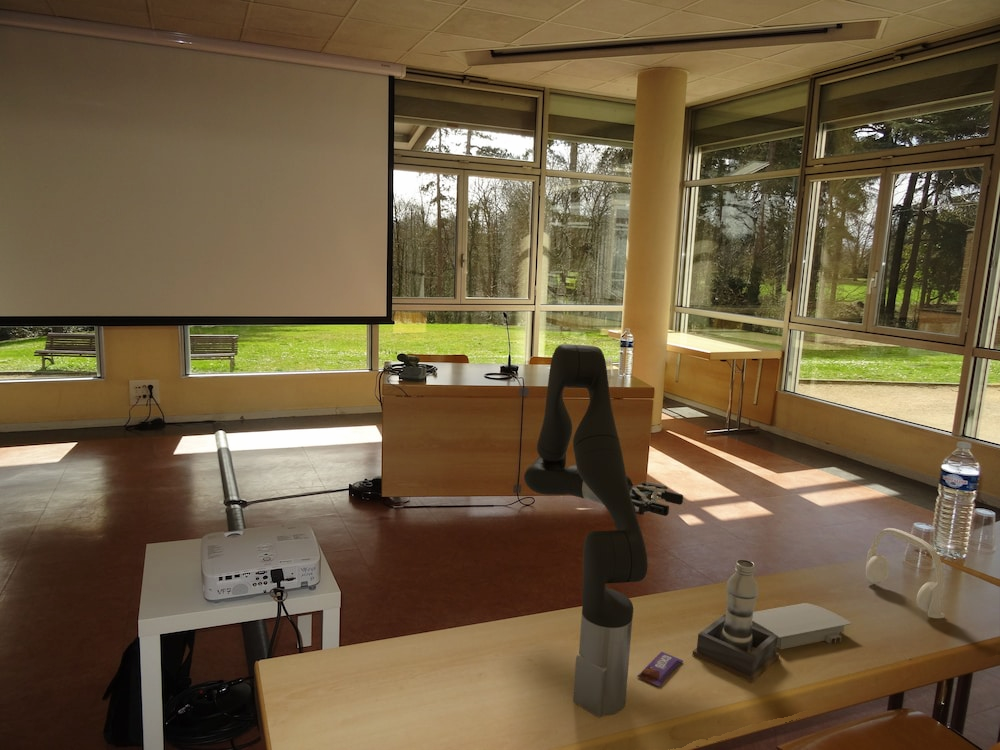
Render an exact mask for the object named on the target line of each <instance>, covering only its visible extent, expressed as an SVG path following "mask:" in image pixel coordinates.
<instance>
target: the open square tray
mask: <svg viewBox="0 0 1000 750" xmlns="http://www.w3.org/2000/svg"><path fill="white" fill-rule="evenodd" d="M725 618H726V613H725V614H723V615H721V616H720V617H719V618H718V619H716V620H714V621H713V622H712V623H711V624H709V625H708V626H707V627H705V628H704V629H703V630H701V631H699V633H698V634H697V644H696V648H694V649H693V650H692V656H694V657H695V658H698V659H699V660H702V661H704V662H706V663H708V664H710V665H713V666H715V667H716V668H717V669H718V668H719V669H720V670H723V671H724V672H727V673H729V674H731V675H732V676H733V675H734V676H735V677H738V678H740V679H742V680H744V681H746V682H748V683H750V684H753V683H754V682H755V681H756V680H757V679H758V678H759V677H760V676H761V675H762V674H764V673H765V671H767V670H768V668H770V667H771V666H772V665H773V664H774V663H775V662H776V661H777V660H778V659H779V657H780V653H779V652H777V648H778V647H777V639H778V636H776V635H774V634H772V633H769V632H767V631H764V630H762V629H760V628H757V627H755V626H752V637H753V645H752V648H751V651H750V653H748V652H746V651H744V650H742V649H739V648H737V647H735V646H733V645H730V644H728V643H726V642H724V641H721V633H722V630H723V627H724V623H725Z"/></svg>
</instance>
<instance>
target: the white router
mask: <svg viewBox="0 0 1000 750" xmlns="http://www.w3.org/2000/svg"><path fill="white" fill-rule="evenodd" d="M848 625H849V626H850V625H853V623H852V622H851V621H849V620H848V619H846V618H844V617H843V616H841V615H839V614H838V613H835V612H833V611H830V610H828V609H827V608H824V607H821V606H818V605H816V604H812V603H807V602H802V603H798V604H791V605H786V606H779V607H773V608H769V609H764V610H757V611H754V612H753V618H752V626H755V627H757V628H760V629H762V630H764V631H767V632H769V633H772V634H774V635H776V636H778V639H777V647H776V648H777V649H779V650H784V649H790V648H794V647H799V646H803V645H809V644H814V643H819V642H824V641H825V642H827V643H828V644H830V645H831V644H832V641H833V639H835V640H834V643H835V644H836V643H837V638H839V642H840V643H841V642H842V635H840V633H842V632H844V631H845V626H848Z"/></svg>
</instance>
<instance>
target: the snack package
mask: <svg viewBox="0 0 1000 750" xmlns="http://www.w3.org/2000/svg"><path fill="white" fill-rule="evenodd" d="M683 662H684V660H682V659H681V658H678V657H676V656H673V655H671V654H669V653H666V652H664V651H660V653H659V654H658V655H656V656H655V657H654V659H652V660H651V662H649V663H648V664H647V665H646V666H645V667H644V668H643V670H642V671H641V672H640V673H639V674H637V676H636V678H639V679H641V680H644V681H646V682H648V683H650V684H653V685H655V686H657V687H659V688H660V687H661V686H662V684H663V683H664V682H665V681H666V679H668V677H669V676H670V675H671V674H672V673H673V672H674V671H675V670H676V669H677V668H678V666H680V664H682V663H683Z"/></svg>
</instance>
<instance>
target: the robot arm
mask: <svg viewBox="0 0 1000 750" xmlns="http://www.w3.org/2000/svg"><path fill="white" fill-rule="evenodd" d="M606 362H607V361H606V359H605V355H604V353H603V351H602V349H601V348H600V347H598V346H594V345H585V344H571V343H569V344H567V343H565V344H564V343H563V344H559V345H558V346H557V347H555V349H554V351H553V354H552V357H551V361H550V367H549V372H548V373H549V374H548V381H547V387H546V388H547V389H546V396H545V398H546V399H545V407H544V408H545V409H544V417H543V420H542V424H541V429H540V432H539V436H538V440H537V443H536V452H537V454H538V456H539V457H538V458H537V459H536V460H535V461H533V463H532V464H531V465H530V466H528V467H527V468H526V470H525V472H524V475H523V476H524V477H523V480H524V483H525V484H526V486H527V487H528V489H529V490H531V491H533V492H535V493H537V494H541V495H547V496H548V495H549V496H551V495H552V496H553V495H554V496H565V495H566V496H568V495H569V496H574V497H577V498H581V499H583V500H584V499H585V500H588V501H590V502H593V503H596V504H600V505H602V506H603V505H604V507H605V508H606V509H607V511H608V512H609V513H608V514H609V515H610V516H611V518H612V521H613V524H614V527H615V530H592V531H590V532H588V533H587V535H586V537H585V538H584V543H583V549H582V550H583V551H582V552H583V554H582V555H583V556H582V565H583V566H582V586H581V587H582V588H581V589H582V590H581V592H582V593H581V594H582V597H581V598H582V607H581V620H580V636H579V649H578V654H577V655H576V657H575V671H574V685H573V695H572V696H573V697H572V698H573V700H572V702H573V703H574V704H577V705H578V706H580V707H581V708H583V709H584V710H587V711H588V712H590V713H592V714H593V715H595V716H596V717H599V718H601V717H602V716H604V715H605V716H606V715H613V714H616V713H619V712H620V711H621V710H623V709H624V707H625V706H626V700H627V688H628V675H629V665H630V652H631V651H630V650H631V641H632V630H633V629H632V627H633V618H634V617H633V616H634V604H633V602H632V600H631V599H630V598H629V597H628V596H627V595H625V594H623V593H622V592H620V591H617V590H615V589H611V588H608V587H606V586H607V584H623V583H625V584H626V583H636V582H641V581H643V580H644V579H645V578H646V576H647V572H648V566H649V565H648V554H647V549H646V545H645V544H646V543H645V540H644V536H643V533H642V530H641V525H640V523H639V520H638V517H637V515H641V516H643V515H645V513H646V514H650V513H653V514H656V515H660V516H664V517H667V516H668V515H669V513H670V505H668V504H663V503H660V502H667V503H672V504H676V505H679V506H682V504H683V503H684V495H683V494H681V493H677V492H674V491H669V490H668V486H666V485H662V484H656V483H652V482H648V481H642V482H641V484H637V485H635V484H633V482H632V479H631V477H630V476H628V475H627V473H626V467H625V462H624V457H623V451H622V447H621V442H620V438H619V435H618V431H617V426H616V423H615V422H616V421H615V419H614V418H615V417H614V413H613V407H612V400H611V393H610V387H609V377H608V376H609V375H608V368H607V363H606ZM565 388H577V389H586V390H588V394H589V403H588V406H587V409H586V411H585V414H584V415H583V417H582V419H581V420H580V423H578V426H577V427H576V430H575V433H574V435H573V440H572V447H573V453H574V459H575V464H573V465H569V466H568V467H566V465H567V464H566V463H567V462H566V461H567V451H568V449H569V444H570V441H571V438H572V434H573V424H572V423H573V422H572V419H571V416H570V414H569V411H568V409H567V408H566V405H565V403H564V399H563V397H564V396H563V393H564V389H565ZM659 501H660V502H659Z"/></svg>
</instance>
